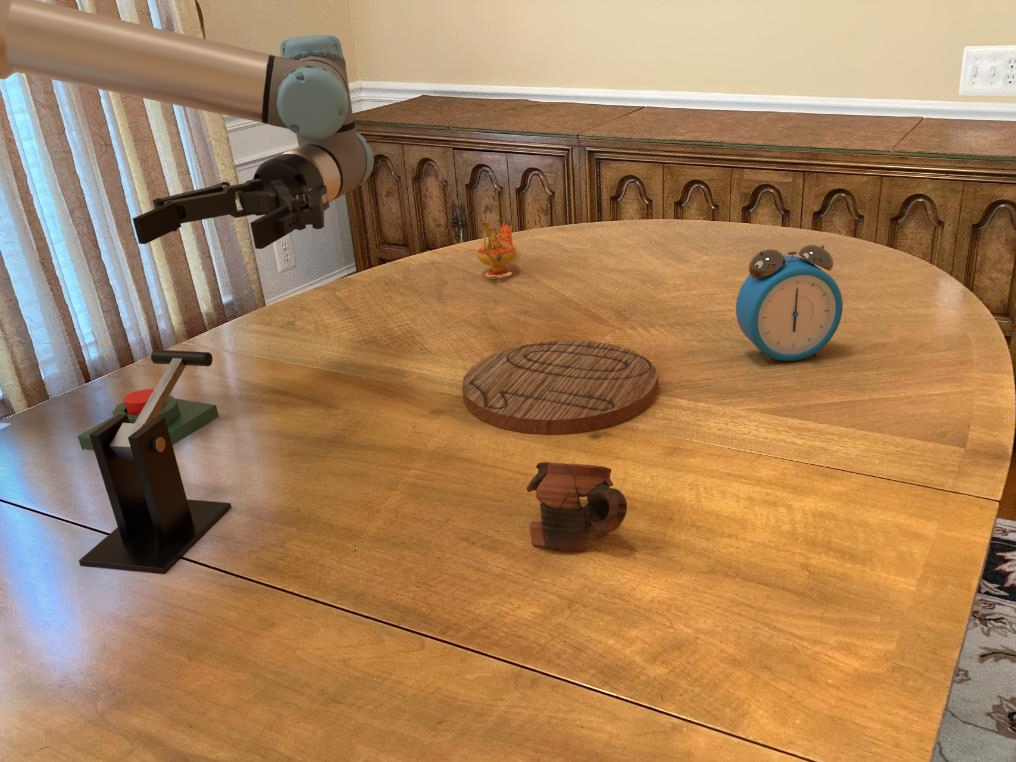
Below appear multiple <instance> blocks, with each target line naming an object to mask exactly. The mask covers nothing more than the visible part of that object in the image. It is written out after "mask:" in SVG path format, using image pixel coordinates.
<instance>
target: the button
mask: <svg viewBox="0 0 1016 762" xmlns="http://www.w3.org/2000/svg"><path fill="white" fill-rule="evenodd" d="M154 389H155V388H154ZM154 389H153V388H147V389H140V390H136V391H132V392H131V393H127V395H126V396H125V397H123V403H124V402H125V406H126V409H127V412H128V414H130V415H140V413H141V411H142V409H143V408H144V406H145V404H146V403H147V401H148V399H149V398H150V396H151V394H152V393H153V391H154ZM163 407H164V405H163ZM163 407H162V408H163Z"/></svg>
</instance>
